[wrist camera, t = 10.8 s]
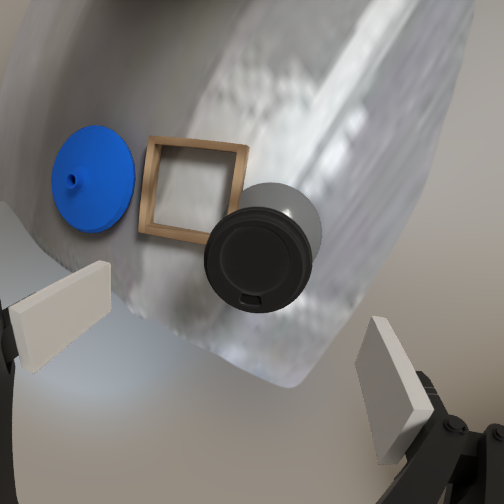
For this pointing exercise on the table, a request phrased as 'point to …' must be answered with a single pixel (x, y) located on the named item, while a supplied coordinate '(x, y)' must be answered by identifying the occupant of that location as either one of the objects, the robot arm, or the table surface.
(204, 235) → the wooden square frame
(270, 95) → the table surface
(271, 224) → the coffee cup
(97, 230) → the blue spouted lid
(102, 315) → the robot arm
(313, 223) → the grey round plate
